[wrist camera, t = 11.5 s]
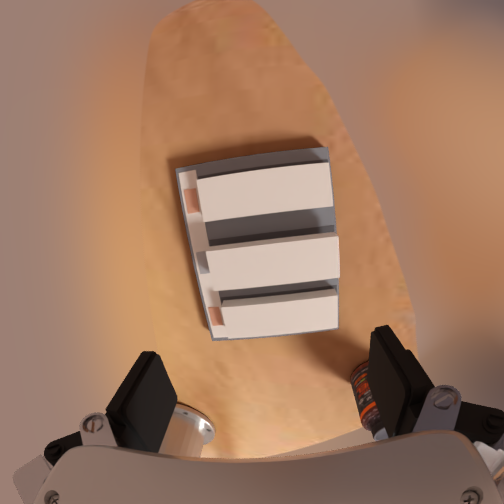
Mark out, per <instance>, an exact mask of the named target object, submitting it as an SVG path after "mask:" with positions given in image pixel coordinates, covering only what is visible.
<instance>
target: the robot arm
mask: <svg viewBox="0 0 504 504" xmlns="http://www.w3.org/2000/svg"><path fill="white" fill-rule="evenodd" d="M367 383H368V386H369V388H370V391H371V393H372V396H373V398H374V401H375V403H376V406H377V409H378V411H379V414H380V416H381V419H382V422H383V424H384V427H385V430H386V432H387V435H388V438H387V439H383V440H379V441H375V442H371V443H367V444H363V445H358V446H353V447H348V448H342V449H338V450H332V451H326V452H320V453H312V454H304V455H296V456H285V457H273V458H249V459H224V458H200V455H201V451H202V447H203V445H204V444H207V443H209V442H211V441H212V440H213V439H214V436H215V427H214V425H213V423H212V422H211V421H210V420H209V419H208V418H207V417H206V416H204V415H203V414H201V413H200V412H198V411H196V410H194V409H192V408H190V407H187V406H184V405H181V404H177V395H176V392H175V390H174V388H173V386H172V383H171V381H170V379H169V377H168V374H167V372H166V369H165V367H164V365H163V362H162V360H161V357H160V355H158V354H156V352H154V351H143V352H142V353H141V354H140V356H139V357H138V359H137V360H136V362H135V364H134V365H133V367H132V368H131V370H130V372H129V373H128V375H127V376H126V378H125V379H124V381H123V382H122V384H121V385H120V387H119V389H118V390H117V392H116V394H115V395H114V397H113V398H112V400H111V401H110V403H109V405H108V406H107V408H106V411H107V412H106V414H105V415H104V414H102V413H91V414H89V415H87V416H86V417H85V418H83V419H82V421H81V423H80V431H78V432H76V433H73V434H71V435H68V436H65V437H63V438H60V439H57V440H55V441H53V442H50V443H49V444H48V445H47V447H46V448H45V451H44V456H42V455H39V456H38V457H36V458H35V459H33V460H32V461H30V462H29V463H27V464H25V465H24V466H22V467H21V468H19V469H18V470H17V471H16V472H15V473H14V475H13V481H14V484H15V486H16V488H17V490H18V492H19V495H20V497H21V499H22V500H23V502H24V504H504V412H503V411H502V410H499V409H496V408H491V407H486V406H481V405H476V404H472V403H467V402H463V401H461V394H460V392H459V391H458V390H457V389H456V388H454V387H453V386H449V385H439V386H437V387H435V386H434V385H433V384H432V382H431V380H430V379H429V377H428V375H427V374H426V373H425V371H424V370H423V368H422V367H421V365H420V363H419V362H418V361H417V359H416V358H415V356H414V355H413V353H412V352H411V351H410V350H408V349H407V350H405V348H404V347H403V345H402V344H401V342H400V341H399V339H398V338H397V337H396V335H395V334H394V332H393V331H392V329H391V328H390V327H389V325H384V326H380V327H376V328H375V331H372V332H371V339H370V352H369V363H368V372H367Z"/></svg>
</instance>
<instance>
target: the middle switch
mask: <svg viewBox="0 0 504 504" xmlns="http://www.w3.org/2000/svg"><path fill="white" fill-rule="evenodd" d="M206 256H207V261H208V266H209V271H210V276H211V280H212V285H213V290H214V291H222V290H233V289H244V288H254V287H263V286H273V285H282V284H291V283H300V282H308V281H317V280H325V279H332V278H340V261H339V240H338V235H337V234H336V233H335V232H329V233H320V234H311V235H302V236H293V237H285V238H276V239H268V240H259V241H251V242H243V243H234V244H226V245H218V246H210V247H209V248H208V249H207V250H206Z"/></svg>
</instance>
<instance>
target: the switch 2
mask: <svg viewBox="0 0 504 504" xmlns="http://www.w3.org/2000/svg"><path fill="white" fill-rule="evenodd" d="M221 310H222V315H223V319H224V323H225V328H226V332H227V336H228V339H231V338H247V337H260V336H272V335H282V334H292V333H301V332H309V331H317V330H325V329H332V328H338V295H337V293H336V290H335V289H327V290H319V291H311V292H303V293H294V294H285V295H276V296H266V297H256V298H245V299H234V300H223V303H222V306H221Z"/></svg>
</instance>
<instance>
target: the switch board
mask: <svg viewBox="0 0 504 504" xmlns="http://www.w3.org/2000/svg"><path fill="white" fill-rule="evenodd" d="M315 163H329V168H330V177H331V186H332V196H333V206H331V207H322V208H312V209H303V210H294V211H285V212H277V213H269V214H260V215H253V216H245V217H237V218H230V219H223V220H216V221H209V222H204V221H203V216H202V210H201V204H200V199H199V193H198V187H197V181H196V180H198V179H203V178H209V177H215V176H221V175H227V174H233V173H240V172H247V171H254V170H261V169H269V168H277V167H285V166H295V165H304V164H315ZM175 171H176V177H177V183H178V188H179V194H180V200H181V205H182V211H183V216H184V221H185V226H186V231H187V236H188V241H189V246H190V250H191V255H192V260H193V264H194V269H195V273H196V278H197V282H198V286H199V290H200V295H201V299H202V303H203V307H204V311H205V315H206V319H207V323H208V327H209V330H210V334H211V338H212V341H220V340H239V339H253V338H266V337H277V336H287V335H297V334H305V333H314V332H321V331H329V330H336V329H339V279H338V278H332V279H325V280H317V281H308V282H300V283H291V284H282V285H273V286H263V287H254V288H244V289H233V290H222V291H214V290H213V285H212V280H211V276H210V271H209V266H208V261H207V256H206V250H207V249H208V248H209V247H210V246H218V245H226V244H234V243H243V242H251V241H259V240H268V239H276V238H285V237H293V236H302V235H311V234H320V233H329V232H335V233H336V218H335V206H334V195H333V185H332V175H331V167H330V158H329V151H328V147H320V148H308V149H298V150H288V151H279V152H271V153H263V154H256V155H249V156H242V157H236V158H229V159H224V160H218V161H212V162H207V163H201V164H196V165H191V166H186V167H182V168H177V169H175ZM336 234H337V233H336ZM327 289H335V290H336V293H337V295H338V328H332V329H325V330H317V331H309V332H301V333H292V334H282V335H272V336H260V337H247V338H231V339H228V336H227V332H226V328H225V323H224V319H223V315H222V310H221V306H222V303H223V300H234V299H245V298H256V297H266V296H276V295H285V294H294V293H303V292H311V291H319V290H327Z"/></svg>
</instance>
